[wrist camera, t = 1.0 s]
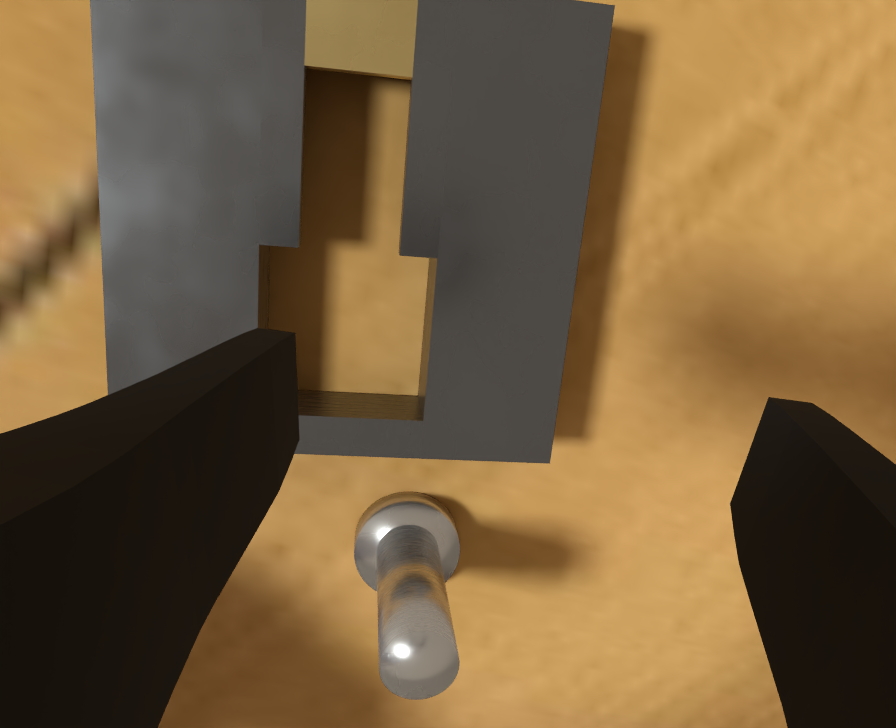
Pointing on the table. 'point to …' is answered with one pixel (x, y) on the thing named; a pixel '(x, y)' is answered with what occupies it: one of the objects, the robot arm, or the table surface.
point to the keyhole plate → (423, 205)
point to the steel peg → (411, 590)
